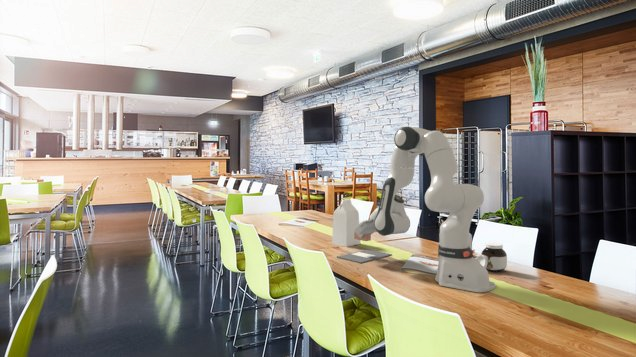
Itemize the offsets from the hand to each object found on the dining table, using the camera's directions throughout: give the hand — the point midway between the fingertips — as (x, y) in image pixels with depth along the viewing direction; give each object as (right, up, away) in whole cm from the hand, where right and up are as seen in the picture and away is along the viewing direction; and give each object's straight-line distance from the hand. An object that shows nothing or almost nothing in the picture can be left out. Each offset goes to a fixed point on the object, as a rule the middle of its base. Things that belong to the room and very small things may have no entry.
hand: (363, 236), depth 203 cm
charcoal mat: (+1, -10, 0) cm, 10 cm away
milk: (-7, -9, +31) cm, 33 cm away
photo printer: (+51, -10, +3) cm, 52 cm away
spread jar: (+53, -11, -27) cm, 60 cm away
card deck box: (-3, +1, +3) cm, 5 cm away
